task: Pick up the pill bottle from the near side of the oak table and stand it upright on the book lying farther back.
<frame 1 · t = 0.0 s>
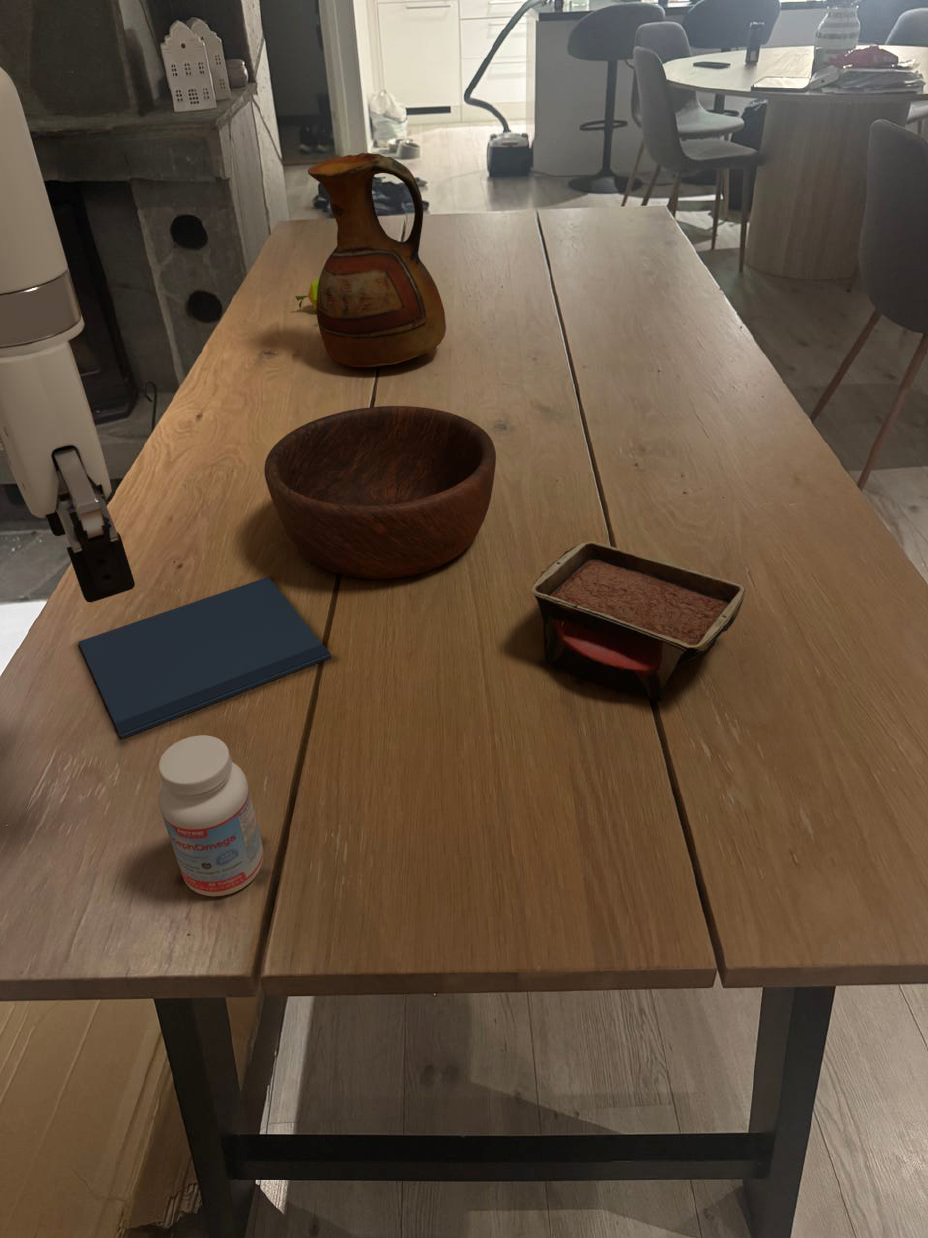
hand: (92, 559, 63), 22 cm above the table, tool pointing down, fingers open, 9 cm apart
wooden bowl: (388, 535, 106), on the table
ceramic pitcher: (385, 357, 150), on the table
baking dish: (629, 652, 87), on the table
book: (203, 651, 90), on the table
pill bottle: (225, 867, 69), on the table
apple: (322, 312, 169), on the table
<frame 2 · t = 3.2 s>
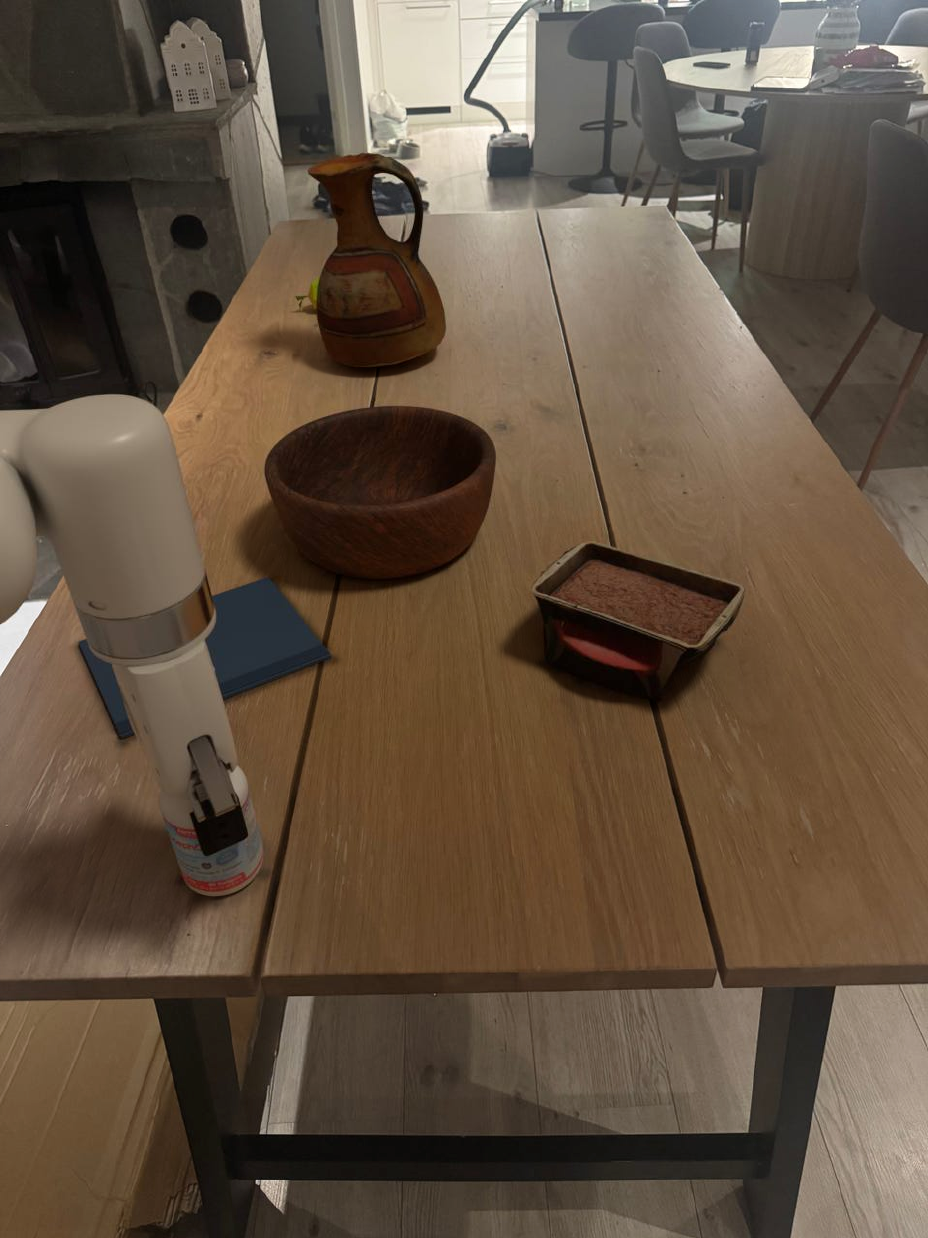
hand: (208, 811, 65), 6 cm above the table, tool pointing down, fingers closed on pill bottle, 6 cm apart
pill bottle: (225, 867, 69), on the table, touching gripper
everything else where it was.
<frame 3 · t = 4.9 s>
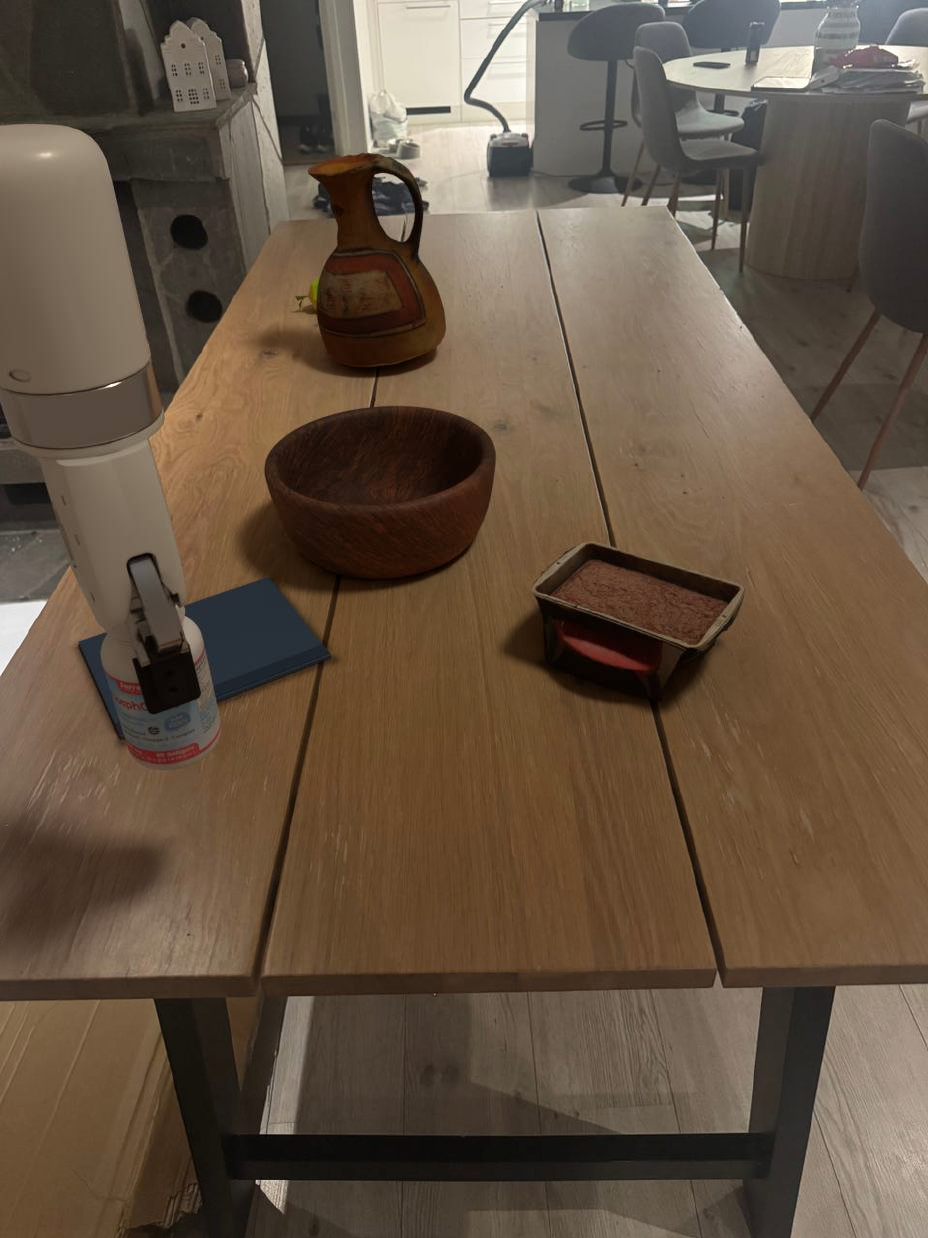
hand: (158, 671, 58), 19 cm above the table, tool pointing down, fingers closed on pill bottle, 6 cm apart
pill bottle: (178, 743, 61), point 13 cm above the table, touching gripper
everything else where it was.
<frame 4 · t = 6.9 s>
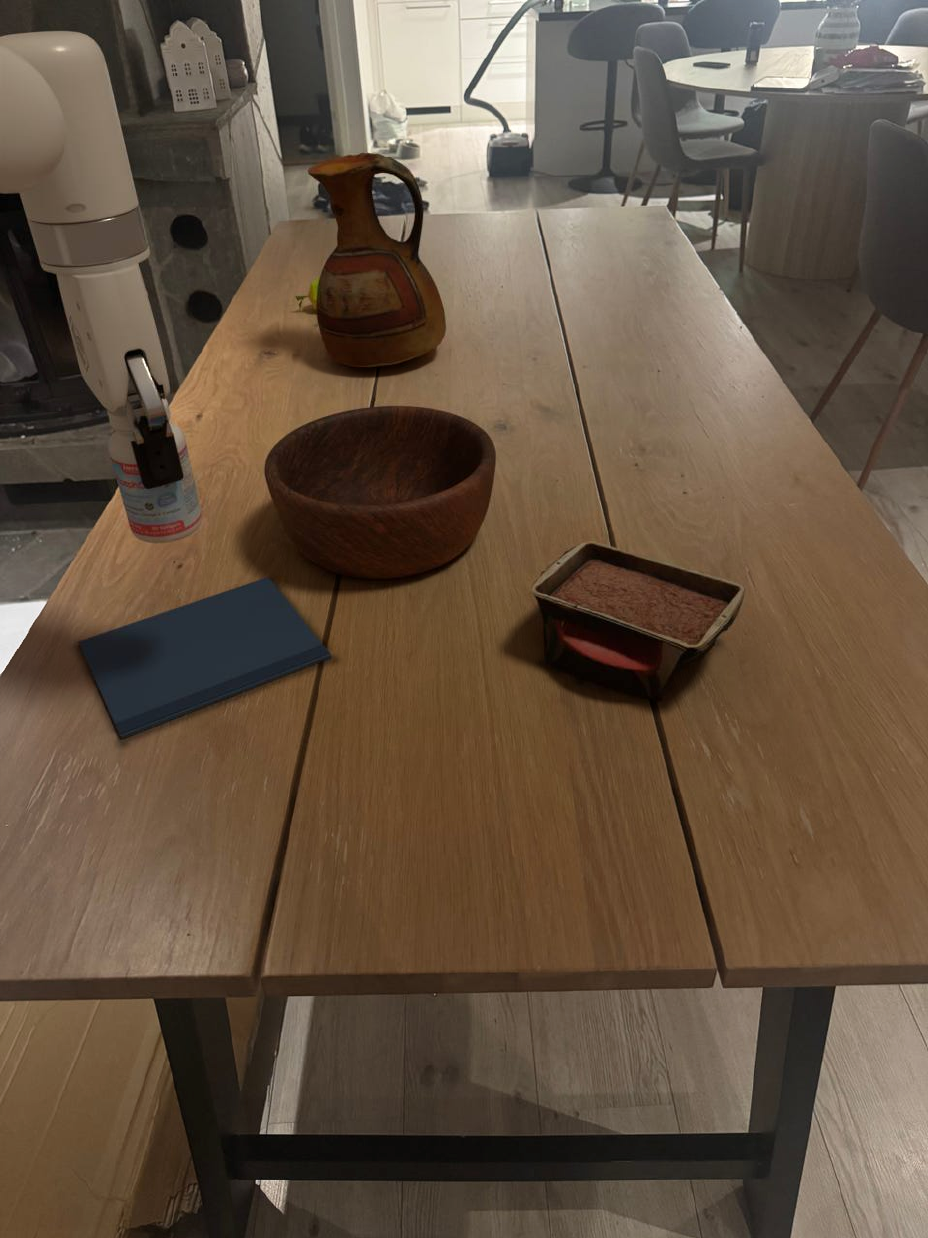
hand: (151, 464, 76), 21 cm above the table, tool pointing down, fingers closed on pill bottle, 6 cm apart
pill bottle: (169, 529, 80), point 15 cm above the table, touching gripper
everything else where it was.
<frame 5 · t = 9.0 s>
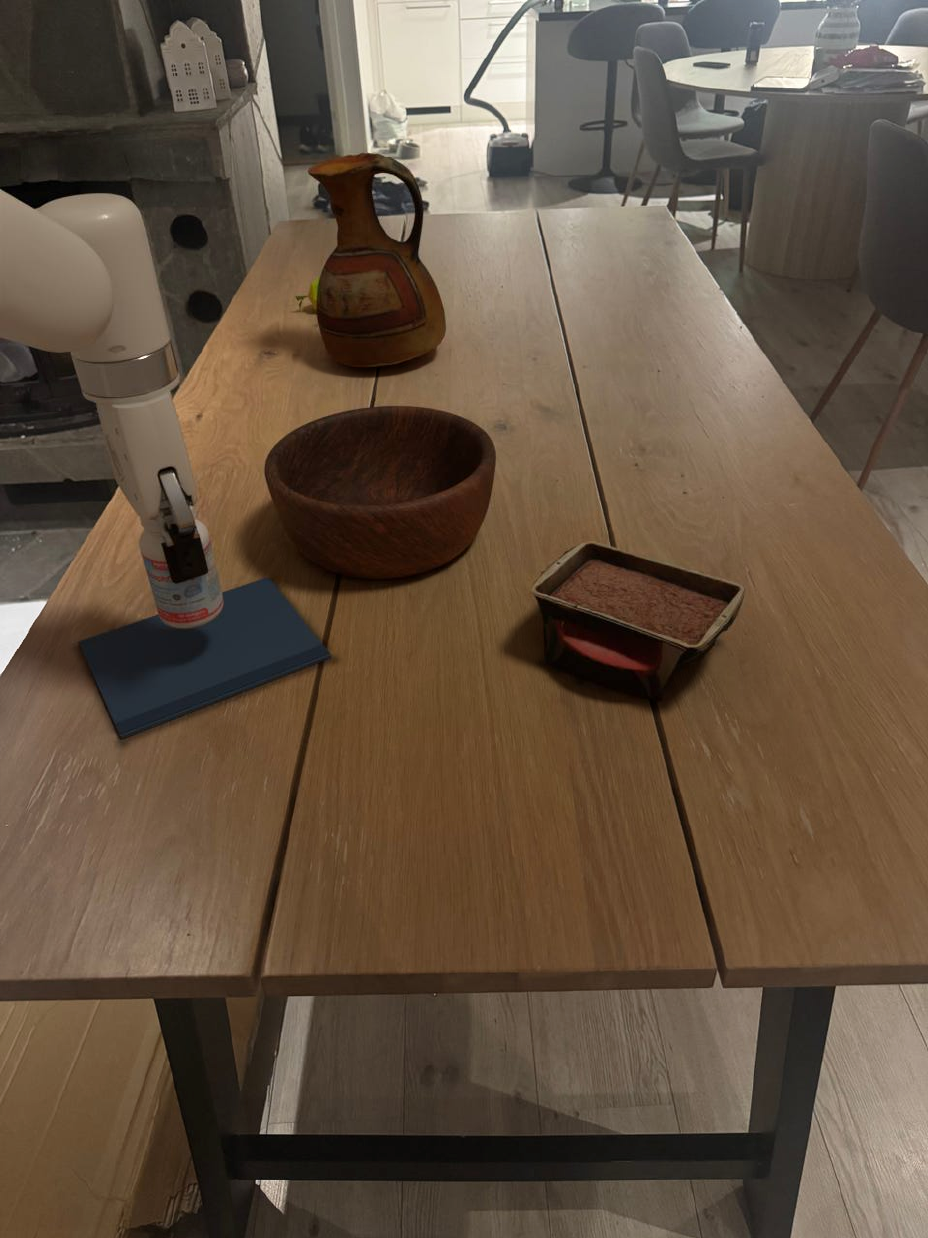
hand: (178, 558, 83), 11 cm above the table, tool pointing down, fingers closed on pill bottle, 6 cm apart
pill bottle: (193, 613, 87), point 5 cm above the table, touching gripper
everything else where it was.
when the fingers open (6 cm above the table, at t = 10.6 s): pill bottle stays where it is, resting on book.
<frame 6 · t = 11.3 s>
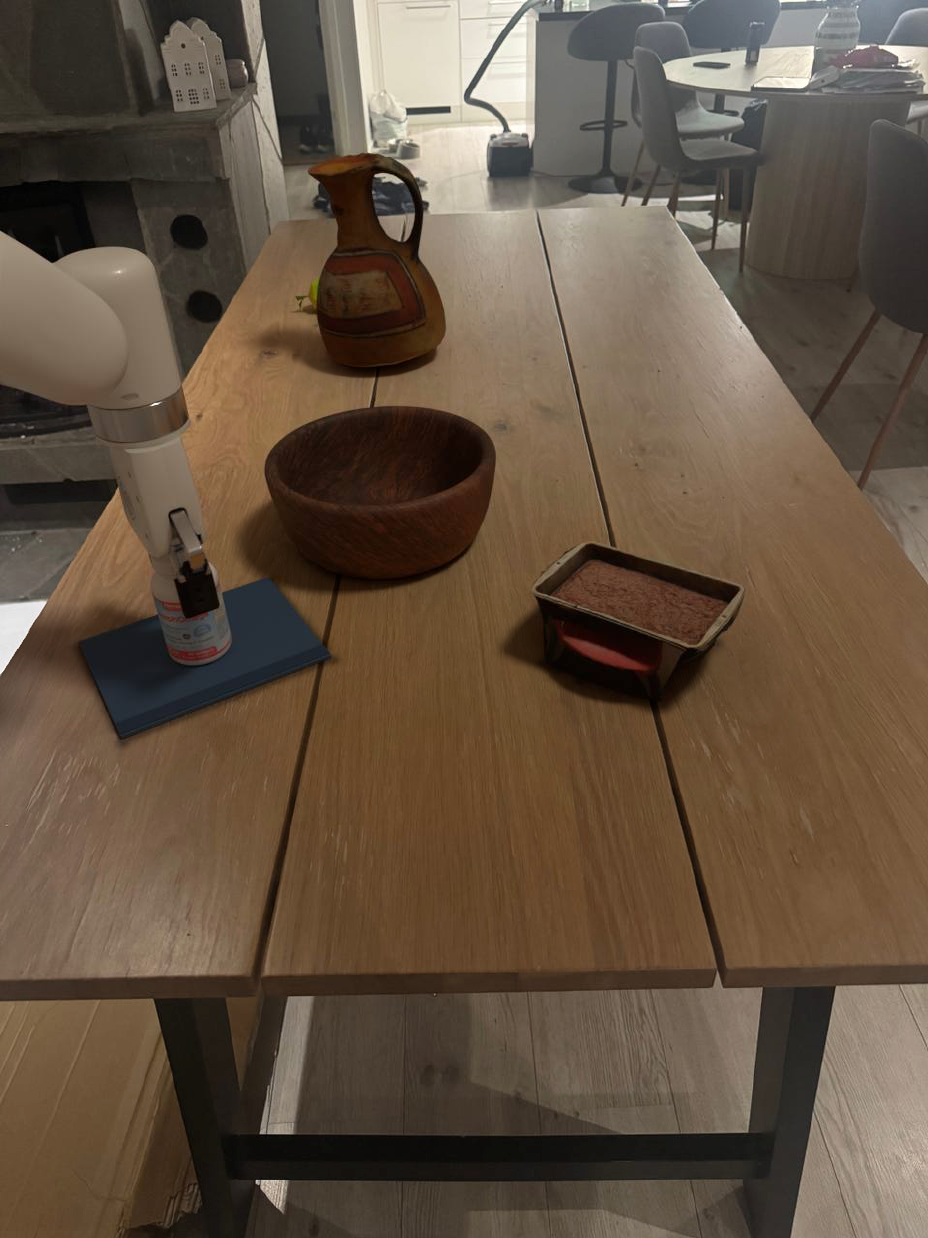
hand: (185, 586, 85), 8 cm above the table, tool pointing down, fingers open, 9 cm apart
pill bottle: (202, 649, 90), resting on book
everything else where it was.
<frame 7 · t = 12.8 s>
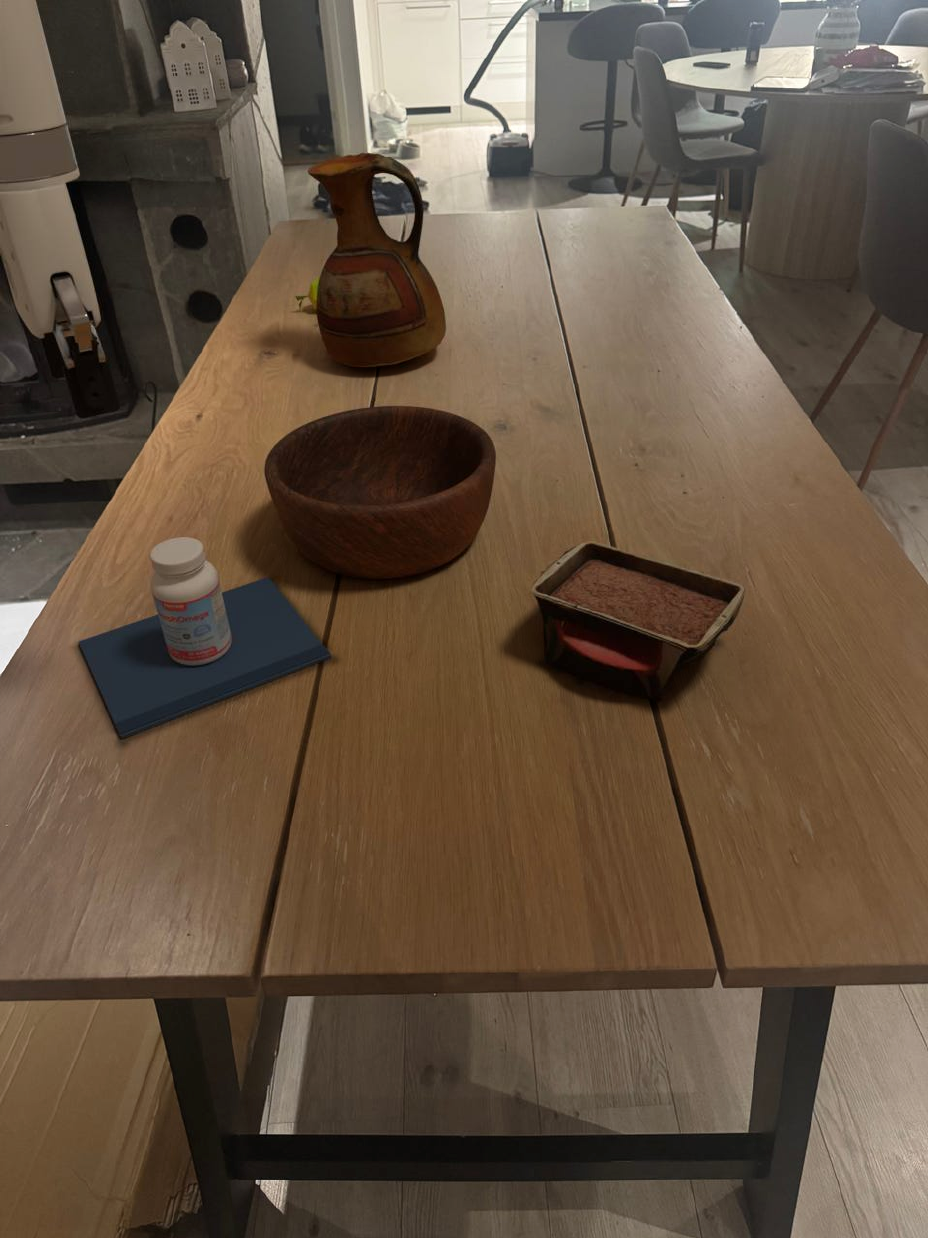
hand: (85, 392, 74), 27 cm above the table, tool pointing down, fingers open, 9 cm apart
nothing on the table moved.
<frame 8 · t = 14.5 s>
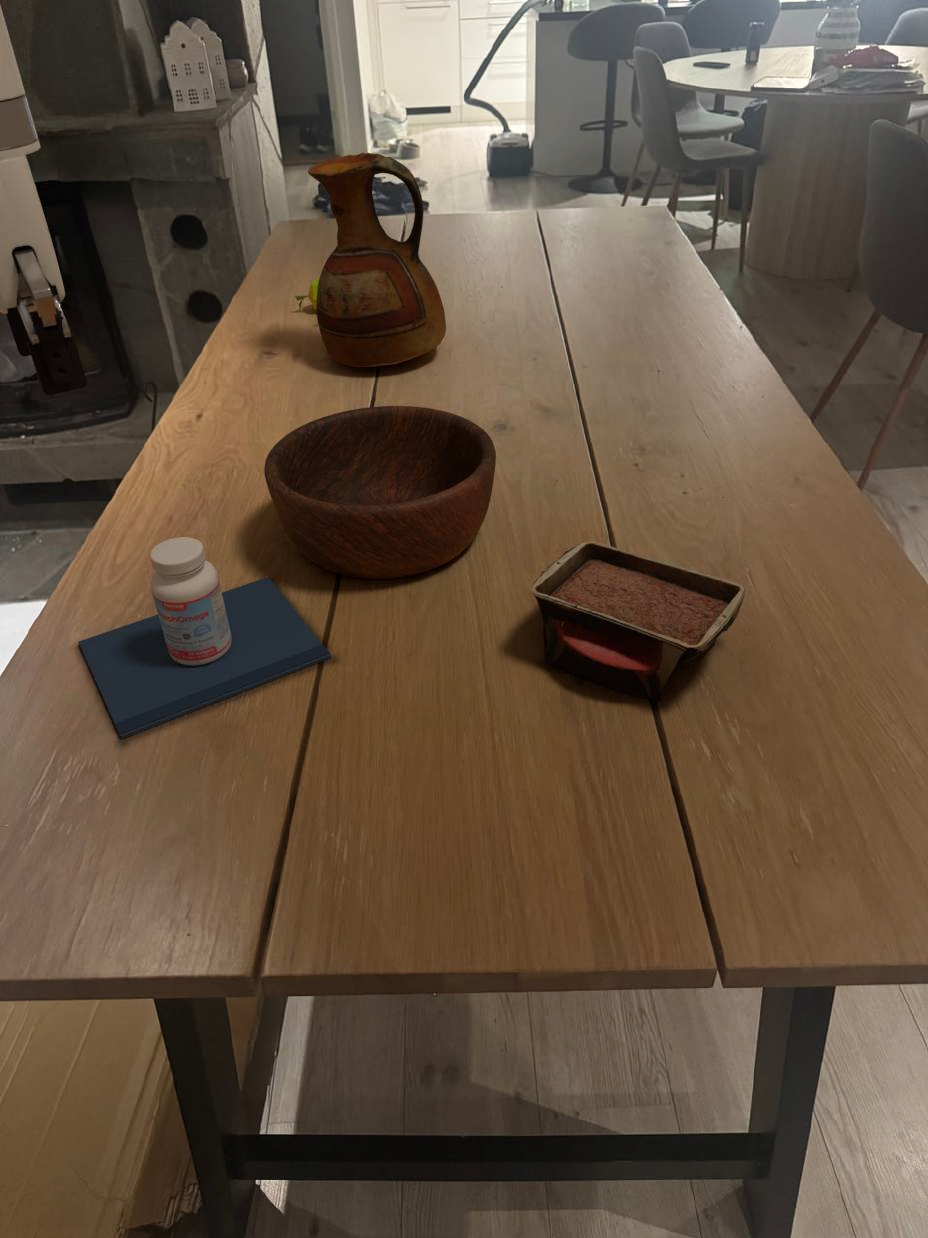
hand: (52, 370, 74), 28 cm above the table, tool pointing down, fingers open, 9 cm apart
nothing on the table moved.
at the end: pill bottle inside the target area on the book (0.0 cm from its centre), point 0.2 cm above the book's base; pill bottle tilted 0°; the gripper is holding nothing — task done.
